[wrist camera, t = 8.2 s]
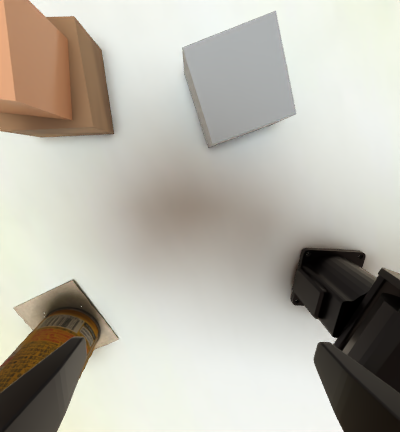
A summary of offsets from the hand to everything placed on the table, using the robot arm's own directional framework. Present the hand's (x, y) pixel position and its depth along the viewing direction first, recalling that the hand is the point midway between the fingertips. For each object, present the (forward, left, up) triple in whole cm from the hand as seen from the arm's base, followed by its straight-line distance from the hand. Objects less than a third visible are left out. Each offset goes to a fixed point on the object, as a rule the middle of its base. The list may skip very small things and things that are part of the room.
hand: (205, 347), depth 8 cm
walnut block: (+11, -11, -13) cm, 20 cm away
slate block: (-2, -12, -13) cm, 18 cm away
